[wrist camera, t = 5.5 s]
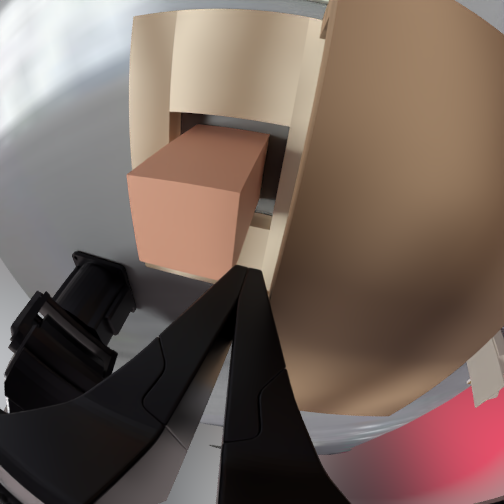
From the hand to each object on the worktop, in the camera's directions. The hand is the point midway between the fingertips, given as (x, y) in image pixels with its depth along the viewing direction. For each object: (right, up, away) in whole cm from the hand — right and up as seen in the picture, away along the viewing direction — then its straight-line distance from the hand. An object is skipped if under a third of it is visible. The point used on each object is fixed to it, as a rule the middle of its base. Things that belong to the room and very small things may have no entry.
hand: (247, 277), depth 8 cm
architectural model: (+27, -9, +13) cm, 31 cm away
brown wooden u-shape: (+6, +3, +5) cm, 8 cm away
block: (-1, +6, +7) cm, 9 cm away
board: (+1, +5, +6) cm, 8 cm away
